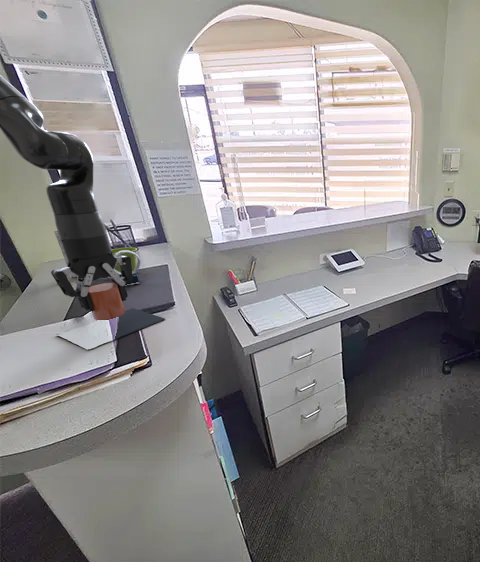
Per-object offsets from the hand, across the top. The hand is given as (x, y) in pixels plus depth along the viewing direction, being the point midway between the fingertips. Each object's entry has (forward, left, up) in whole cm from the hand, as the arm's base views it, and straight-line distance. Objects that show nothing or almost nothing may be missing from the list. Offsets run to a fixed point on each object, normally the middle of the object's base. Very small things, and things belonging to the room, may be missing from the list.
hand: (106, 305), depth 72 cm
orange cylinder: (0, 0, -3) cm, 3 cm away
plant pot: (+24, +41, -6) cm, 48 cm away
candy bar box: (+19, +54, -6) cm, 58 cm away
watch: (+19, +29, -6) cm, 35 cm away
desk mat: (0, 0, -6) cm, 6 cm away
